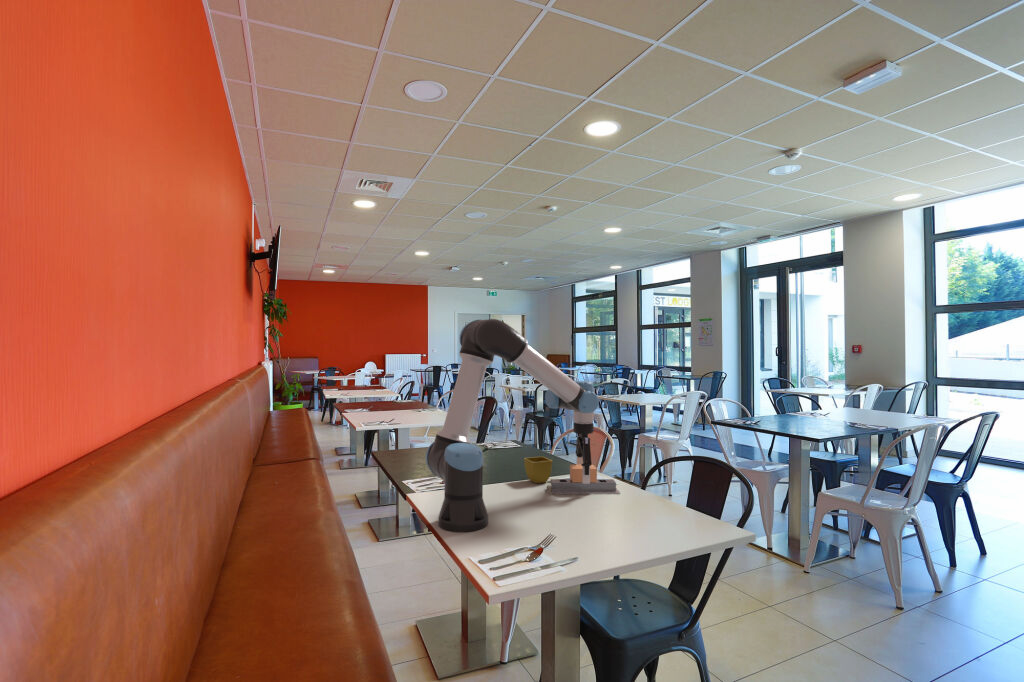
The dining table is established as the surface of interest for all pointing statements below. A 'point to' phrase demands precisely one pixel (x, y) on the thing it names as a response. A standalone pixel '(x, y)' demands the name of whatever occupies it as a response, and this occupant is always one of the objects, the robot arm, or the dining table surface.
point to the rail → (582, 487)
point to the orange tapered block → (577, 473)
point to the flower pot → (538, 469)
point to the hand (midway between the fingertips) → (583, 478)
